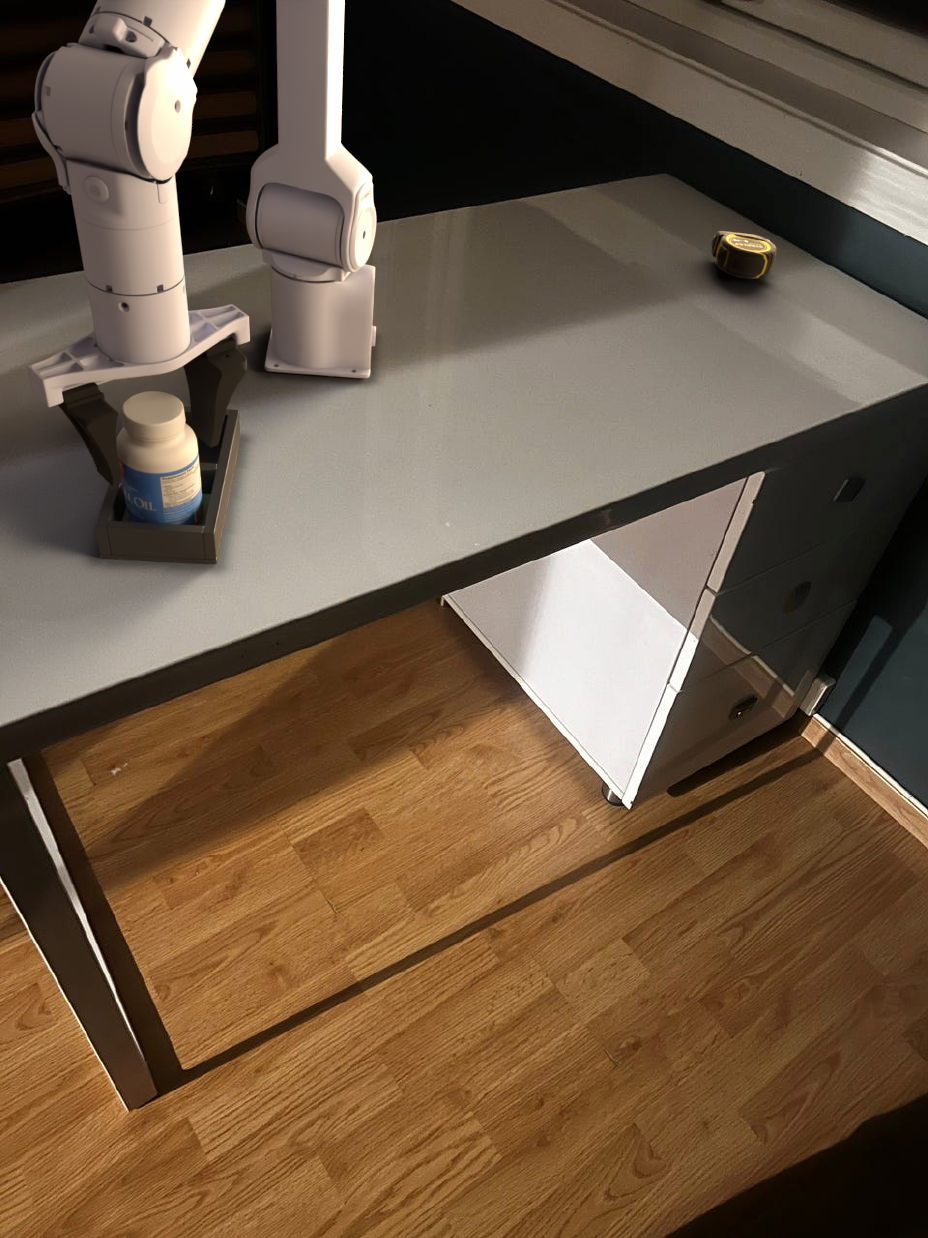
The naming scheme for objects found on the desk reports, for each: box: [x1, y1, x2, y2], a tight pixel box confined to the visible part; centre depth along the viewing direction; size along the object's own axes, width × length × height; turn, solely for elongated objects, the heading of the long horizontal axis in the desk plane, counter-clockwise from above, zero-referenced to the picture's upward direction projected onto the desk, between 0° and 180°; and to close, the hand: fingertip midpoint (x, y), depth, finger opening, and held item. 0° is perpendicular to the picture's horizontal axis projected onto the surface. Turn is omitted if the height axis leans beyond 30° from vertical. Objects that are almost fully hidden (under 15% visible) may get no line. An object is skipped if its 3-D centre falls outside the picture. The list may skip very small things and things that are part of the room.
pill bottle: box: [116, 390, 203, 526], centre depth 69 cm, size 6×5×10 cm
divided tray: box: [94, 405, 242, 565], centre depth 74 cm, size 8×15×3 cm, turn 3°
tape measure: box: [710, 230, 778, 280], centre depth 113 cm, size 7×7×4 cm
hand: (159, 457), depth 68 cm, fingers open, 7 cm apart
